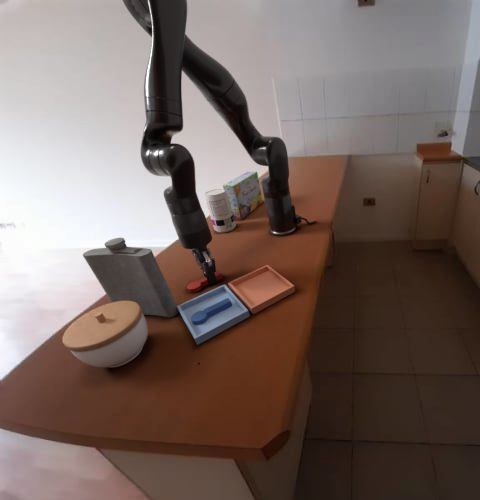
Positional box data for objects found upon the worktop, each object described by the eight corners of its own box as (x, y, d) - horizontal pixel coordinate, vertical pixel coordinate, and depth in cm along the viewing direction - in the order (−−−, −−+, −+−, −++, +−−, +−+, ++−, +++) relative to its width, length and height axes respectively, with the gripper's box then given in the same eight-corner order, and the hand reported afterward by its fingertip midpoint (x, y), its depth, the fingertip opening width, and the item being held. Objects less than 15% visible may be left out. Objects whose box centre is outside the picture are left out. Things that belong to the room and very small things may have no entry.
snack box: (243, 220, 116) (234, 185, 108) (230, 220, 117) (221, 185, 109) (263, 202, 134) (257, 170, 126) (253, 201, 135) (246, 170, 127)
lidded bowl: (103, 391, 51) (71, 350, 45) (76, 362, 57) (45, 324, 52) (169, 343, 60) (148, 304, 54) (139, 323, 66) (118, 286, 61)
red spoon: (219, 274, 82) (218, 269, 81) (224, 279, 79) (222, 274, 79) (187, 288, 77) (185, 284, 76) (190, 294, 75) (188, 289, 74)
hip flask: (115, 315, 69) (72, 245, 59) (128, 304, 73) (89, 237, 63) (174, 317, 67) (139, 245, 57) (183, 306, 70) (152, 236, 60)
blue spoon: (228, 300, 71) (226, 295, 70) (233, 307, 68) (232, 302, 67) (190, 319, 66) (188, 314, 65) (195, 327, 63) (192, 322, 62)
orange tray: (268, 270, 82) (267, 264, 81) (295, 291, 73) (294, 285, 72) (229, 288, 76) (227, 282, 75) (253, 314, 66) (251, 308, 65)
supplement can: (210, 232, 108) (198, 195, 100) (224, 223, 114) (214, 188, 107) (226, 234, 105) (215, 196, 98) (240, 225, 112) (231, 189, 104)
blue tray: (226, 289, 75) (224, 284, 74) (249, 316, 66) (248, 310, 65) (179, 311, 69) (176, 306, 68) (197, 345, 59) (194, 338, 58)
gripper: (216, 229, 68) (233, 286, 76) (198, 214, 77) (215, 266, 86) (184, 240, 64) (206, 298, 72) (169, 223, 73) (190, 277, 82)
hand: (211, 281), depth 79 cm, fingers closed on red spoon, 2 cm apart
